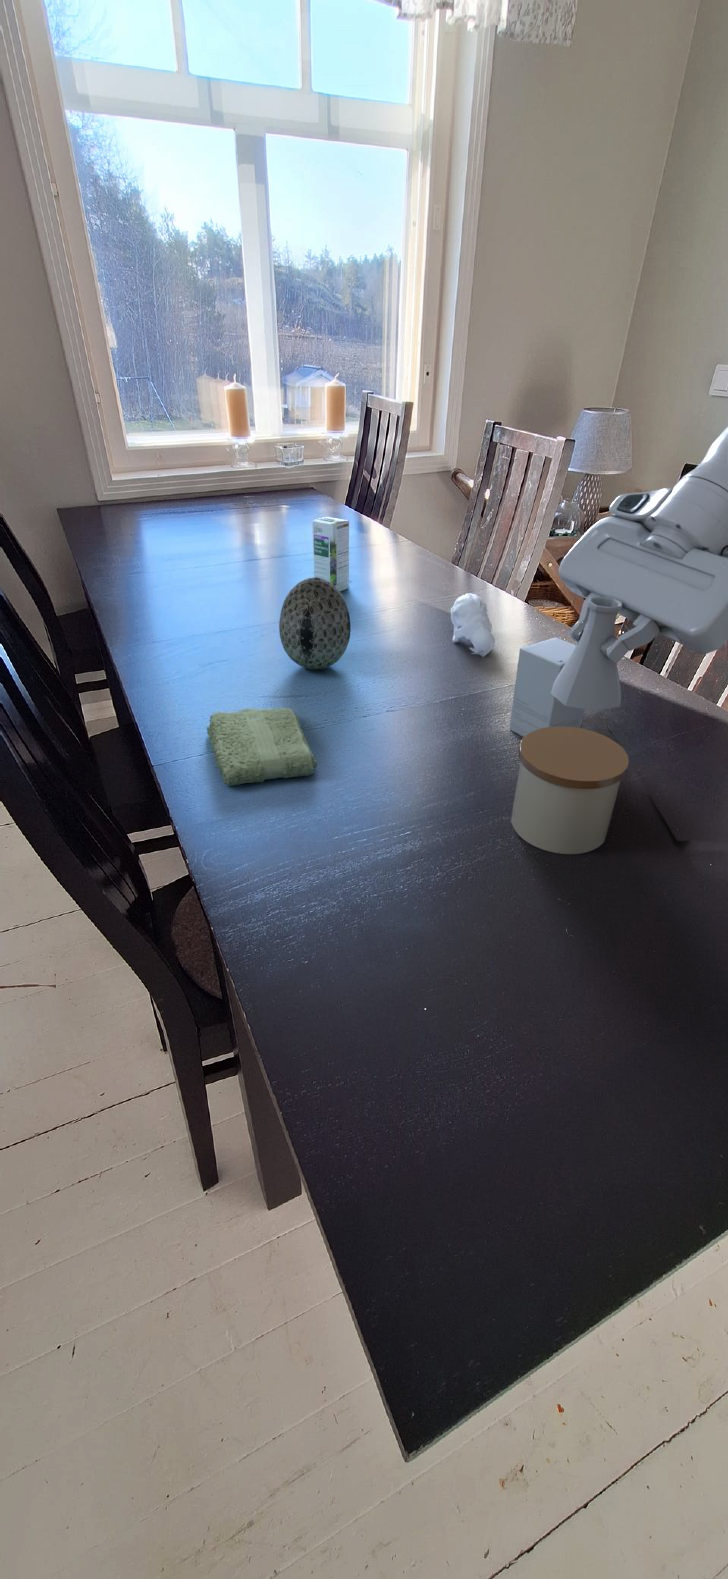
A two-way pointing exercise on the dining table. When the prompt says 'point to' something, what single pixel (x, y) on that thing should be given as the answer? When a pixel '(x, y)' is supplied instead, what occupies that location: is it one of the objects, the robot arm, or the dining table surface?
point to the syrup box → (331, 551)
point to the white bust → (472, 623)
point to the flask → (592, 663)
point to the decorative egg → (314, 624)
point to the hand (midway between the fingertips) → (590, 648)
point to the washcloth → (259, 745)
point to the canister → (567, 788)
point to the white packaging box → (541, 688)
